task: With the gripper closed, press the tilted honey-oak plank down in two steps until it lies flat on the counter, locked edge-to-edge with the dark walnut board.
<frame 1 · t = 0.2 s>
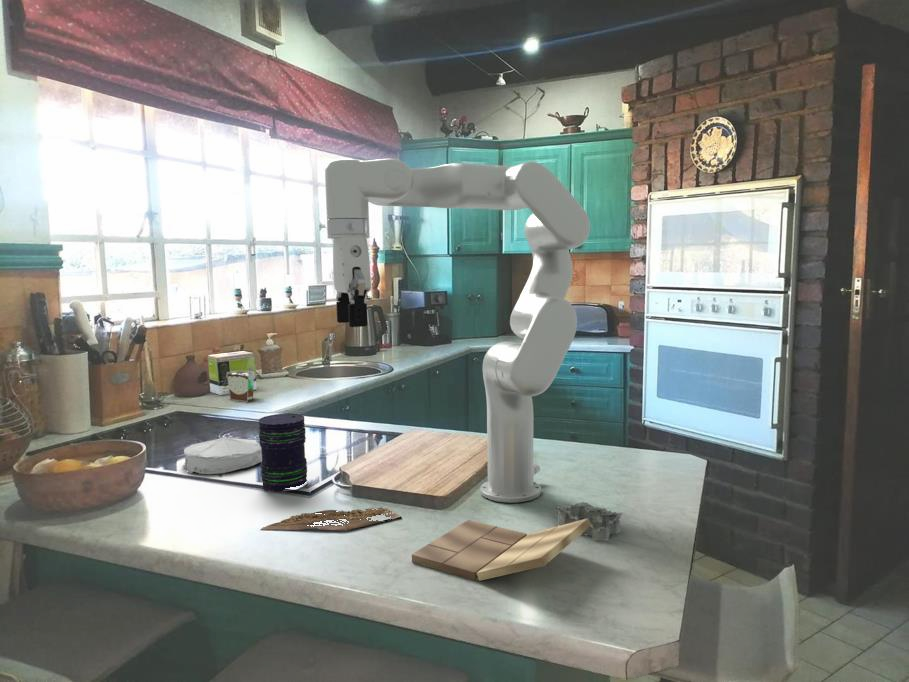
hand: (351, 324, 122), 37 cm above the worktop, tool pointing down, fingers open, 9 cm apart
storage jar: (284, 485, 147), on the worktop
food container 2: (224, 464, 164), on the worktop
egg carton: (588, 530, 120), on the worktop
tea box: (233, 391, 258), on the worktop
plank: (535, 548, 104), point 3 cm above the worktop, hinge at 25.0°
wooden fragment: (332, 524, 125), on the worktop
laid board: (471, 550, 111), on the worktop
food container: (245, 399, 242), on the worktop
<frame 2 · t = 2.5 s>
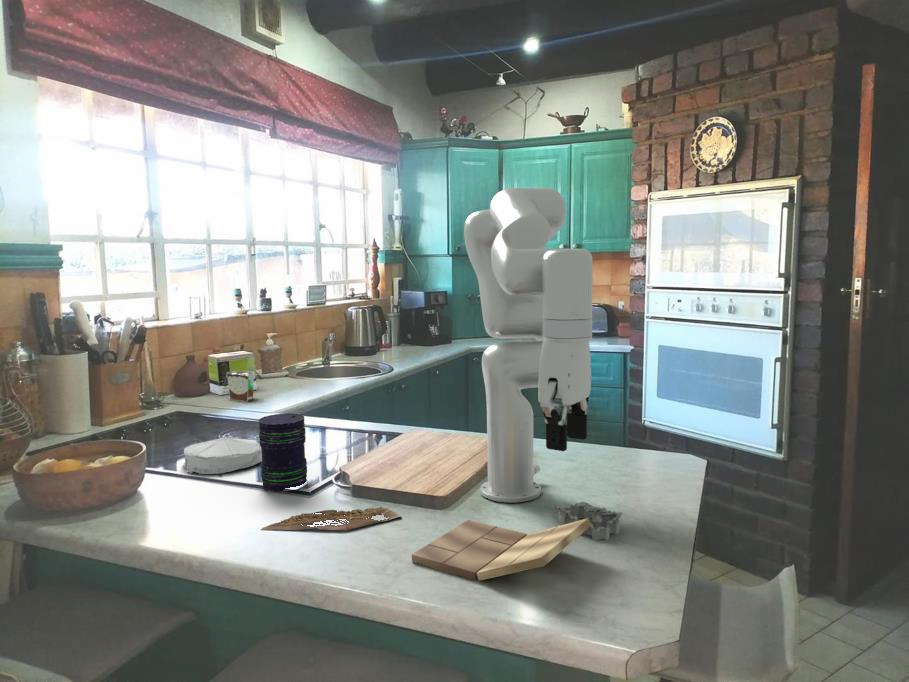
hand: (566, 442, 104), 20 cm above the worktop, tool pointing down, fingers open, 6 cm apart
nothing on the worktop moved.
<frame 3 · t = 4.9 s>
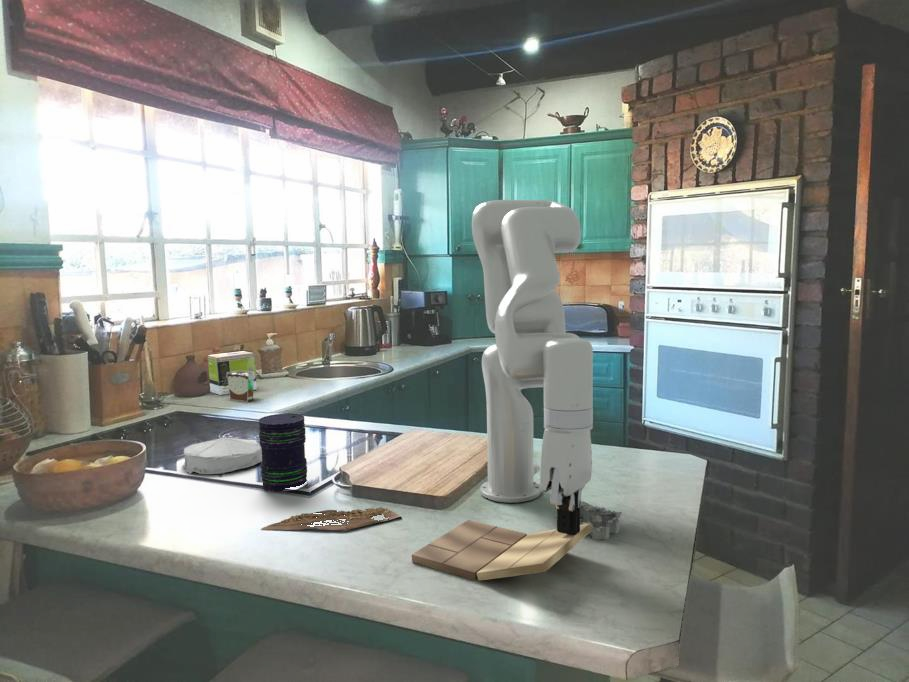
hand: (568, 531, 105), 5 cm above the worktop, tool pointing down, fingers closed
plank: (536, 550, 104), point 3 cm above the worktop, hinge at 21.1°, touching gripper
everything else where it was.
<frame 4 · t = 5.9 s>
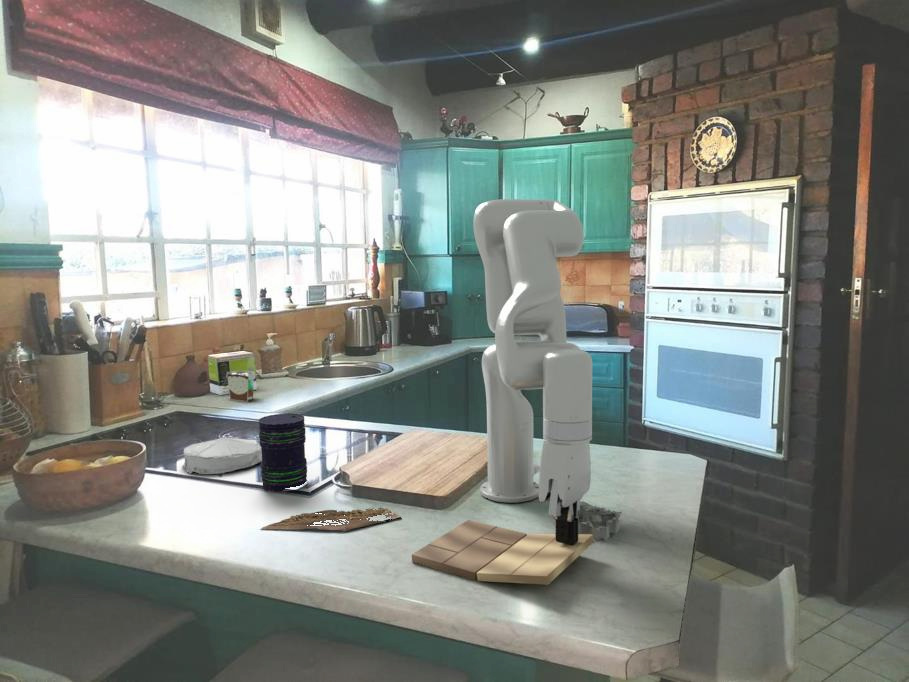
hand: (566, 541, 106), 4 cm above the worktop, tool pointing down, fingers closed
plank: (537, 556, 104), point 2 cm above the worktop, hinge at 12.2°
everything else where it was.
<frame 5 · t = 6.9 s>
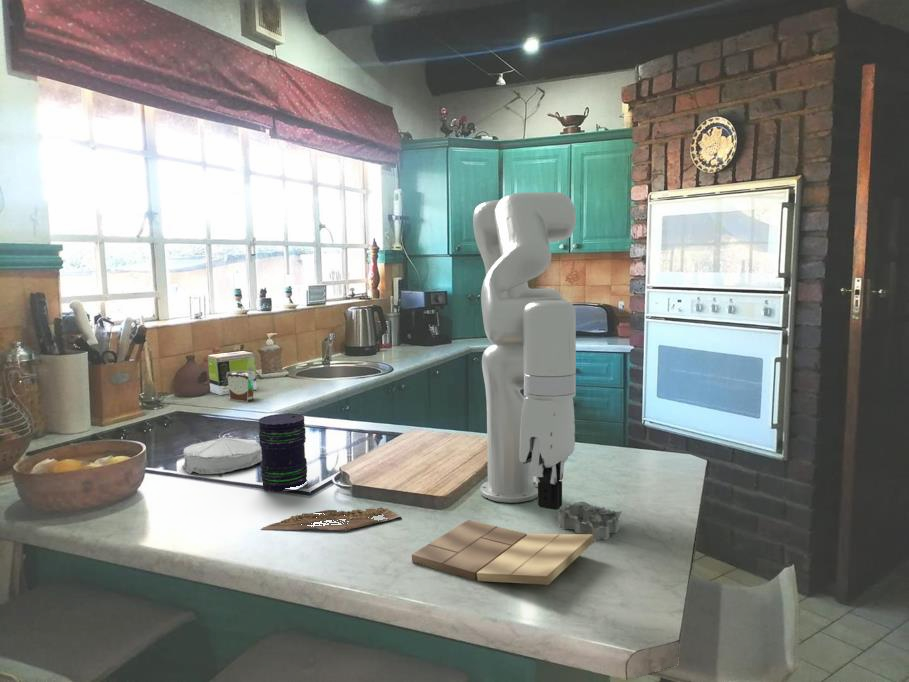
hand: (550, 506, 99), 12 cm above the worktop, tool pointing down, fingers closed
nothing on the worktop moved.
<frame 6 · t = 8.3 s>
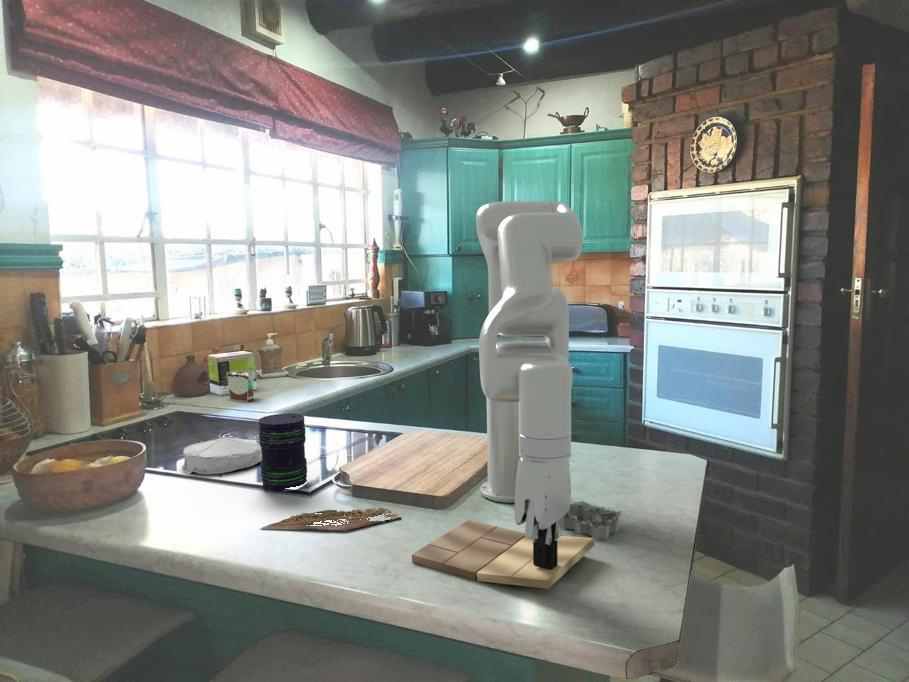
hand: (545, 565, 99), 3 cm above the worktop, tool pointing down, fingers closed
plank: (537, 558, 104), point 2 cm above the worktop, hinge at 9.3°, touching gripper
everything else where it was.
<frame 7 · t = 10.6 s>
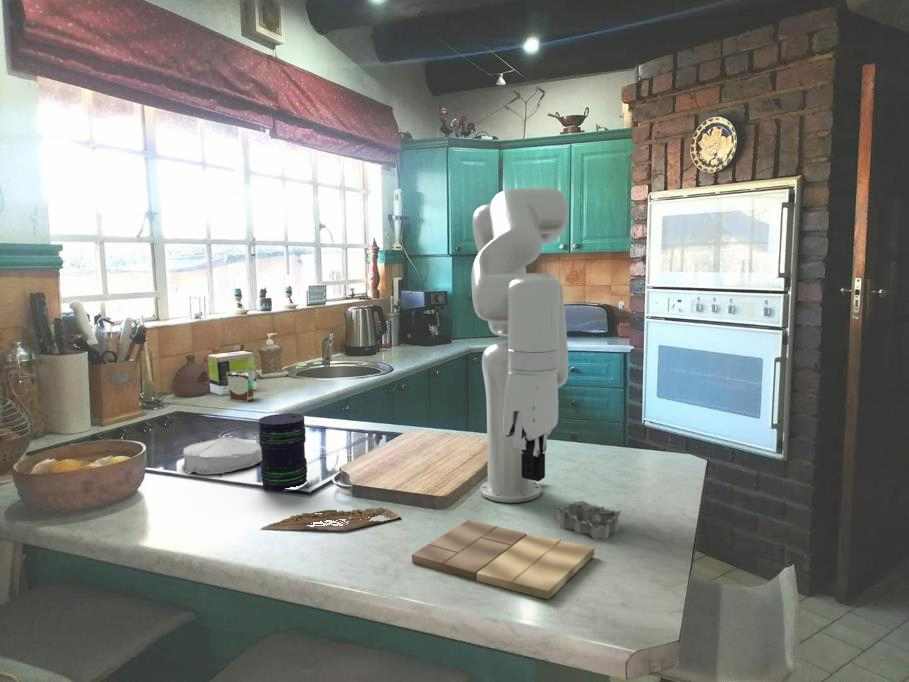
hand: (533, 478, 102), 15 cm above the worktop, tool pointing down, fingers closed
plank: (537, 563, 105), point 1 cm above the worktop, hinge at 1.8°
everything else where it was.
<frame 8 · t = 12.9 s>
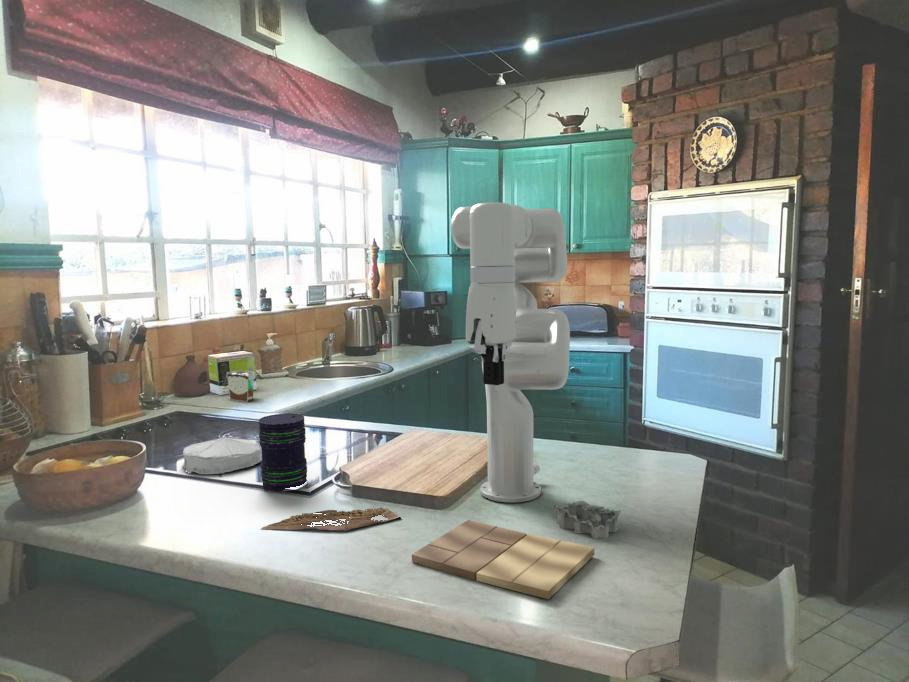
hand: (493, 383, 115), 27 cm above the worktop, tool pointing down, fingers closed
nothing on the worktop moved.
at the end: plank at +2° (first picture: +25°) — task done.
